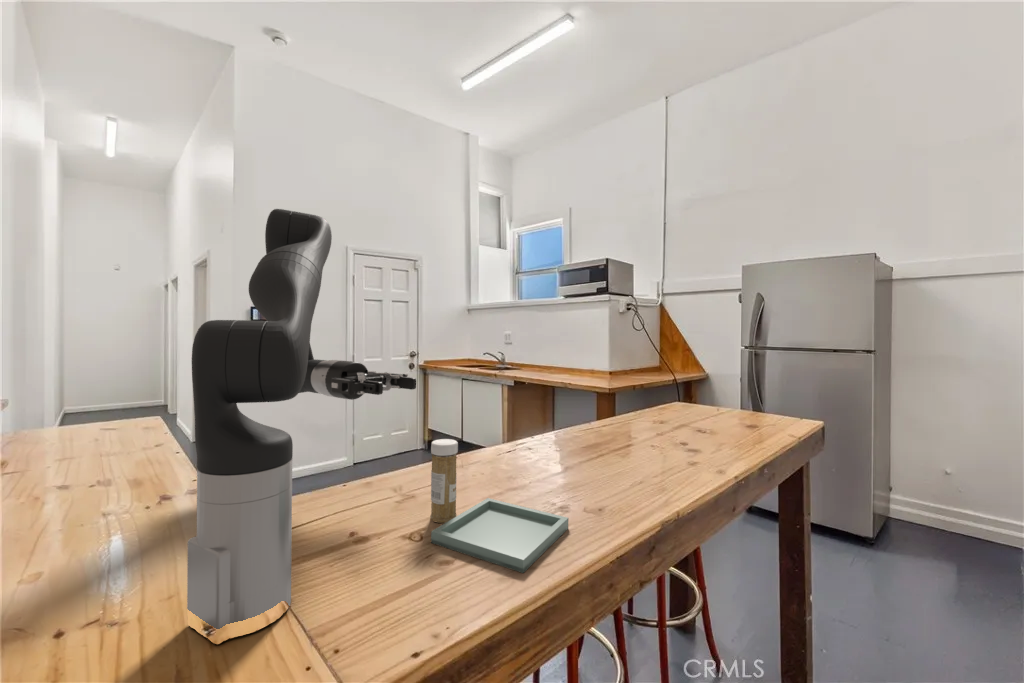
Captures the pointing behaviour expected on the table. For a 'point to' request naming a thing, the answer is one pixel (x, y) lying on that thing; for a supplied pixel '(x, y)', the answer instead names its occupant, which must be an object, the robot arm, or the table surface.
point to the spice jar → (443, 480)
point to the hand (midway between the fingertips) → (399, 386)
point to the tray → (501, 533)
